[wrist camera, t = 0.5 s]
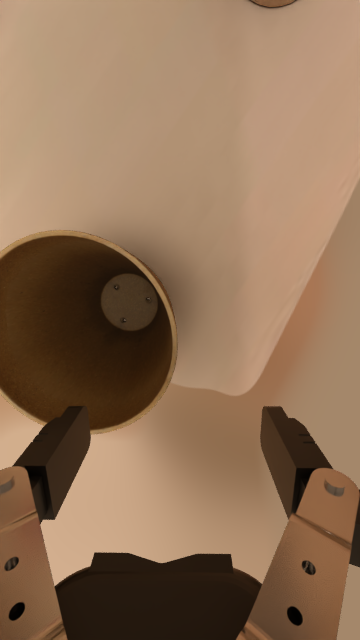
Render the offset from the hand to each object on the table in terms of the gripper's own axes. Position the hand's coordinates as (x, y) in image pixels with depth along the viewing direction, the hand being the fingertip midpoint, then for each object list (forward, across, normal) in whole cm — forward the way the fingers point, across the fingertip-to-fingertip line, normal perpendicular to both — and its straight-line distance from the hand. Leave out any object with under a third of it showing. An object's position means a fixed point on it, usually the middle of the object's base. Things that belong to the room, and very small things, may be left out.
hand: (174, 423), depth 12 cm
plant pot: (+23, +6, -1) cm, 24 cm away
